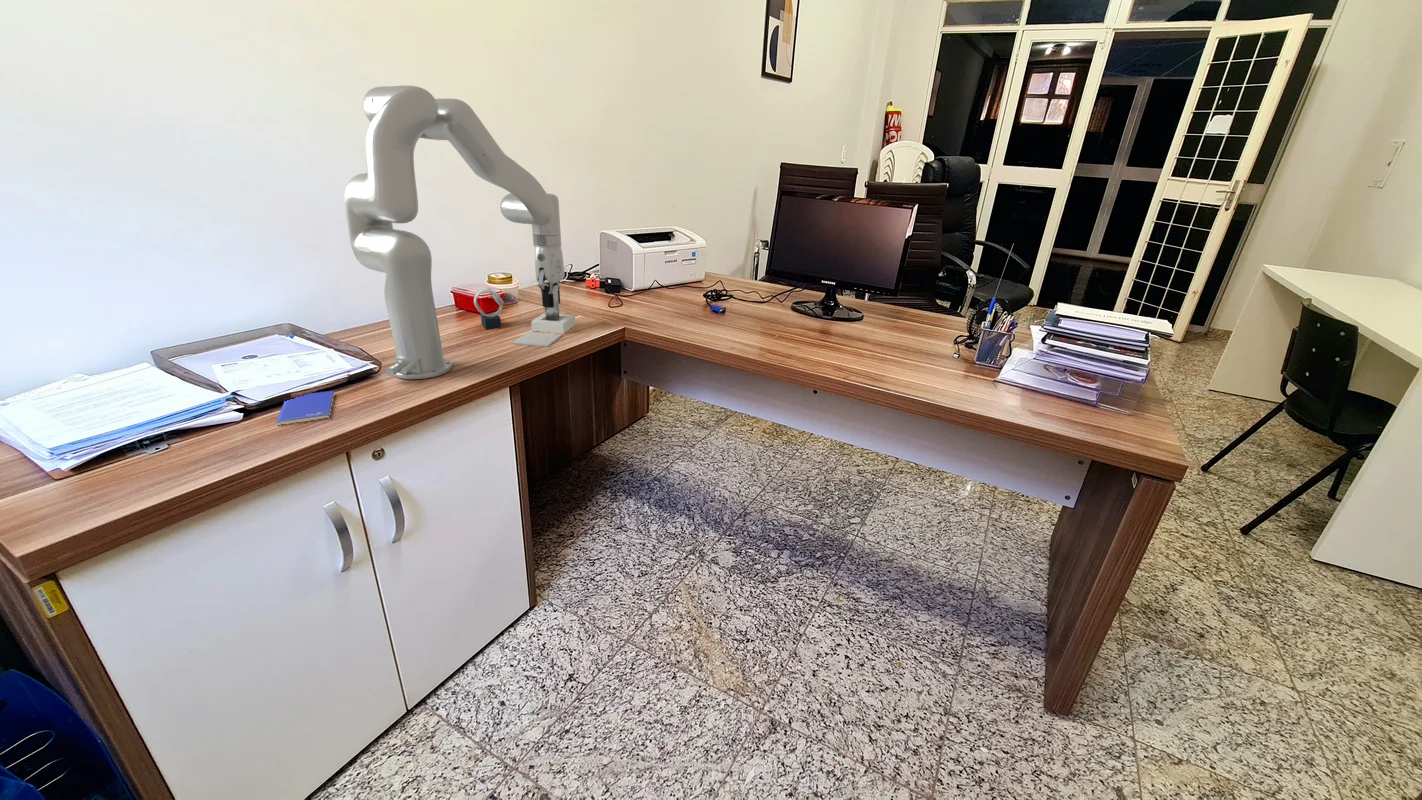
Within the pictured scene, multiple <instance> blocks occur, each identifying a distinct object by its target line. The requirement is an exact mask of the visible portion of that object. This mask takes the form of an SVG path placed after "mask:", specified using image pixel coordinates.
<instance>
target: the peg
mask: <svg viewBox="0 0 1422 800" xmlns="http://www.w3.org/2000/svg"><path fill="white" fill-rule="evenodd" d="M546 286H547V287H548V285H546ZM552 294H553V298H554V307H553V308H549V307H544V313H545V318H546V320H548V321H557V320H559V319H560V317H559V314H560V306H559V305H560V304H559V301H558V286H557V285H556V284H552Z"/></svg>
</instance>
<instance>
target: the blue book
mask: <svg viewBox="0 0 1422 800" xmlns="http://www.w3.org/2000/svg"><path fill="white" fill-rule="evenodd" d="M306 394H307V395H304V396H300V397H296V398H294V399H290V400H287V401H285V400H284V401H283V404H282V407H281V409H280V412H279V414H278V416H277V419H276V422H275V423H276V426H277V425H279V424H286V423H292V422H298V421H303V420H310V419H319V418H325V417H329V415H330V416H331V413H330V411H331V412H332V409H331V406H332V407H333V404H332V401H333V402H334V399H333V396H334V397H335V391H334V390H328V391H320V392H312V393H311V392H310V393H306Z"/></svg>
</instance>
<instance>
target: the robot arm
mask: <svg viewBox="0 0 1422 800" xmlns="http://www.w3.org/2000/svg"><path fill="white" fill-rule="evenodd" d="M362 108H363V112H364V114H365V116H366V119H367V120H368V121H369V122H370V123H369V124H368V125H369V126H368V127H367V131H366V134H365V143H364V149H365V159H366V161H365V163H366V164H365V165H366V171H367V172H366V173H359V174H356V175H354V176H353V177H352V178H350V180H349V181H348V182H347V183H346V186H345V189H344V193H343V194H344V195H343V201H344V209H345V215H346V216H345V217H346V223H347V228H348V235H349V240H350V241H349V242H350V245H351V246H350V247H351V251H352V252H353V254H354V257H355V258H356V260H357V261H358V263H360V264H361V265H362V266H363V267H365V268H366V269H368V270H372V271H375V272H380V273H385V283H384V289H383V290H384V292H383V293H384V294H383V295H384V300H385V301H384V302H385V306H386V310H387V314H388V318H389V319H388V320H389V325H390V329H391V333H392V339H393V343H394V349H395V355H396V356H395V357H394V360H395V362H394V363H393V365H391V366H389V367H387V368H386V369H385V373H386V375H388V377H393V376H394V377H396V378H398V379H404V380H423V379H430V377H431V378H435V377H439V376H441V375H443V374H446V373H448V372H449V371H450V370H452V368H453V364H452V361H451V360H450V359H448V358H446V357H444V352H443V346H442V341H441V335H440V334H441V333H440V329H439V321H438V317H437V311H436V305H435V299H434V292H433V284H432V263H433V262H432V261H433V259H432V257H433V256H432V253H431V250H430V247H429V245H428V244H427V242H426V241H425V240H424V239H423V238H421V237H420V236H419V235H417V234H415V233H413V232H410V231H406V230H400V229H394V228H393V227H394V226H393V224H408V223H410V222H412V221H414V220H415V219H416V217H417V215H418V212H419V199H418V198H419V197H418V189H417V181H416V173H415V172H416V171H415V161H414V160H415V159H414V154H415V148H416V144H417V143H418V141H419V139H426V140H434V141H447V142H449V143H450V144H451V146H452V147H453V148H454V149H455V150H456V151H457V153H458V154H459V155H460V156H461V157H462V159H463V160H464V161H465V162H466V164H467V165H468V167H469V168H470V169H471V171H472V172H473V173H474V174H475V175H476V176H477V177H479V178H481V179H482V180H484V181H485V182H488V183H490V184H493V185H495V186H497V187H500V188H501V189H503V190H505V191H507V192H508V193H507V194H506V195H504V197H502V199H501V201H500V204H499V205H500V206H499V207H500V213H502V216H503V217H504V218H505V219H506V220H507V221H510V222H511V223H514V224H515V223H517V224H523V225H531V231H532V241H533V243H532V244H533V247H535V249H534V250H535V251H534V266H535V267H534V269H535V279H536V282H537V286H538V288H540V293H541V299H542V300H541V301H542V308H545V307H549V308H553V307H554V298H553V294H552V284H556V285H557V286H558V301H559V305H560V304H561V295H560V294H561V293H560V289H561V286H560V283H561V281H562V280H563V279H564V278H565V275H566V274H565V264H564V257H563V250H562V235H561V219H560V217H561V216H560V202H559V198H558V196H557V195H555V194H554V193H547V192H546V190H545V188H544V187H543V186H542V185H541V182H539V181H538V180H537V179H536V177H535V176H533V175H532V173H530V172H529V171H527V170H526V169H525V168H524V167H523V166H522V165H520V164H519V163H517V162H516V161H515V160H514V159H512V158H511V157H509V156H508V155H507V154H506V153H505V152H504V151H503V150H502V149H501V147H500V146H499V144H498V143H497V142H496V139H494V137H493V135H491V133H490V131H489V130H488V129H487V127H486V126H485V124H484V123H483V122H482V120H481V119H480V118H479V116H478V115H477V114H476V112H475V111H474V109H473V108H472V107H471V106H470V105H469V104H468V103H467V102H465V101H463V100H460V99H456V98H435V97H434V95H433V94H431V93H430V92H429V90H426V89H425V88H424V87H423V88H422V87H419V86H415V85H390V86H387V85H386V86H376V87H373V88H370V89H369V90H368V91H367V92H366V93H365V95H364V97H363V99H362ZM546 281H547V282H546ZM546 285H548V287H547V286H546Z"/></svg>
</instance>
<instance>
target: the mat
mask: <svg viewBox="0 0 1422 800" xmlns="http://www.w3.org/2000/svg"><path fill="white" fill-rule="evenodd" d="M561 337H562V334H560V333H547V332H535V331H528V332H526V333H524V334H523V335H522V336H519V337H518V338H517V339H515V340H513V341H512V343H511V344H512V345H518V346H519V345H520V346H533V347H545V348H548V347H550V346H551V345H552V344H553V343H554V342H556V341H557V340H559V339H560V338H561Z"/></svg>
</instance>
